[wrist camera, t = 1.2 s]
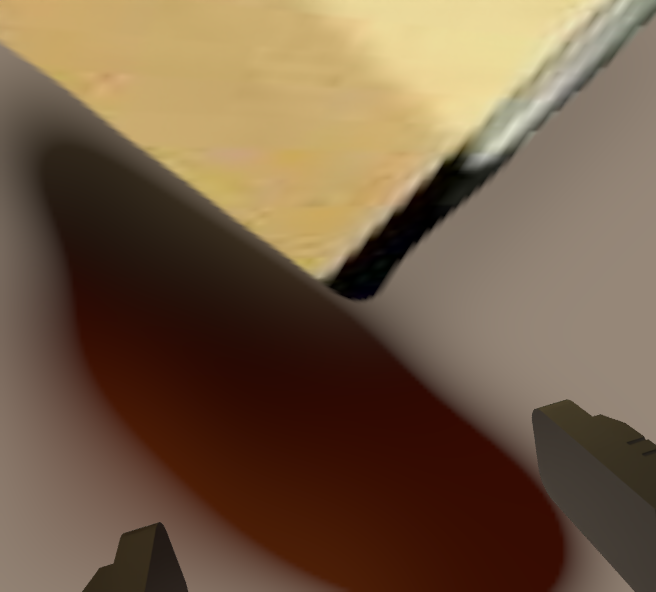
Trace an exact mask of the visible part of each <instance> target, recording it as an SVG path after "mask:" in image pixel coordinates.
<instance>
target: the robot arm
mask: <svg viewBox="0 0 656 592" xmlns="http://www.w3.org/2000/svg"><path fill="white" fill-rule="evenodd" d="M532 423H533V430H534V437H535V444H536V452H537V459H538V467H539V472H540V476H541V480H542V482H543V485H544V486H545V489H546V491H547V493H548V494H549V496H550V497H551V499H552V500H553V501H554V502H555V503H556V505H558V507H559V508H560V509H561V510H562V511H563V512H564V513H565V514H566V516H567V517H568V518H569V519H570V520H571V521H572V522H573V523H574V525H575V526H576V527H577V528H578V529H579V530H580V531H581V532H582V533H583V534H584V536H585V537H587V539H588V540H589V541H590V542H591V543H592V544H593V546H594V547H595V548H596V549H597V550H598V551H599V552H600V553H601V554H602V556H603V557H604V558H605V559H606V560H607V561H608V562H609V563H610V564H611V565H612V567H613V568H614V569H615V570H616V571H617V572H618V573H619V574H620V575H621V577H622V578H623V579H624V580H625V581H626V582H627V583H628V584H629V585H630V587H631V588H632V589H633V590H634V591H635V592H656V445H655V444H654V443H652V442H651V441H650V440H645V438H644V436H643V435H641V434H640V433H638V432H637V431H636V430H634V429H633V428H631V427H630V426H629V425H627V424H626V423H623V422H621V421H618V420H615V419H612V418H609V417H606V416H603V415H601V414H600V415H597V416H594V417H592V416H591V415H590V414H588V413H587V412H586V411H584V410H583V409H581V408H580V407H579V406H578V405H576V404H575V403H574V402H572V401H571V400H563V401H560V402H557V403H553V404H550V405H547V406H543V407H540V408H537V409H534V410H533V413H532ZM82 592H188V589H187V585H186V582H185V579H184V576H183V573H182V571H181V568H180V566H179V563H178V560H177V558H176V555H175V552H174V550H173V547H172V545H171V542H170V539H169V537H168V534H167V531H166V529H165V527H164V525H163V524H162V523H160V522H159V523H155V524H152V525H149V526H145V527H142V528H139V529H136V530H132V531H129V532H126V533H123V534H122V535H121V538H120V541H119V545H118V549H117V553H116V557H115V560H114V564H111V565H108V566H104V567H102V568H99V569H98V571H97V572H96V574H95V575H94V576H93V578H92V579H91V581H90V582H89V583H88V585H87V586H86V587H85V589H84V590H83V591H82Z"/></svg>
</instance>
